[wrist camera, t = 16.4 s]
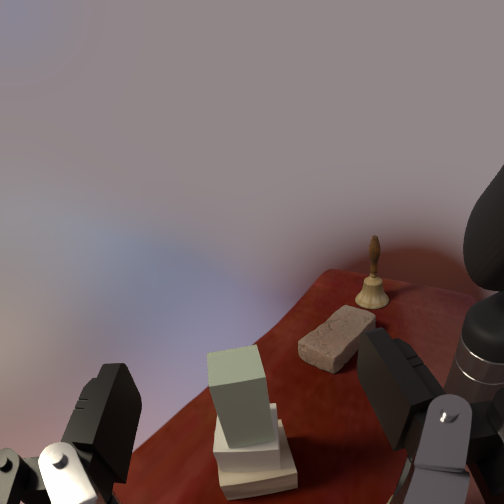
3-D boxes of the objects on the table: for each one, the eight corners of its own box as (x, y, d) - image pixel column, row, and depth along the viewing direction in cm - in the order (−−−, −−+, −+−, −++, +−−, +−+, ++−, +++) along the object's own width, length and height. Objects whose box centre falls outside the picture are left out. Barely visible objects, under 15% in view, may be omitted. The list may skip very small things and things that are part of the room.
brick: (343, 319, 66) (343, 300, 64) (376, 330, 60) (378, 311, 58) (296, 361, 56) (295, 342, 54) (334, 378, 50) (335, 358, 48)
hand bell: (352, 293, 75) (352, 232, 69) (383, 290, 74) (386, 229, 68) (359, 311, 67) (362, 245, 61) (393, 307, 66) (398, 241, 61)
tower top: (225, 429, 37) (218, 406, 35) (278, 426, 36) (275, 403, 35) (221, 472, 30) (212, 452, 28) (281, 469, 30) (278, 449, 28)
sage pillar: (224, 416, 33) (207, 353, 30) (266, 408, 34) (256, 344, 30) (228, 448, 29) (208, 386, 25) (274, 440, 29) (265, 376, 26)
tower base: (221, 449, 38) (214, 431, 37) (282, 439, 39) (280, 419, 37) (227, 500, 30) (220, 486, 28) (297, 488, 31) (297, 472, 29)
